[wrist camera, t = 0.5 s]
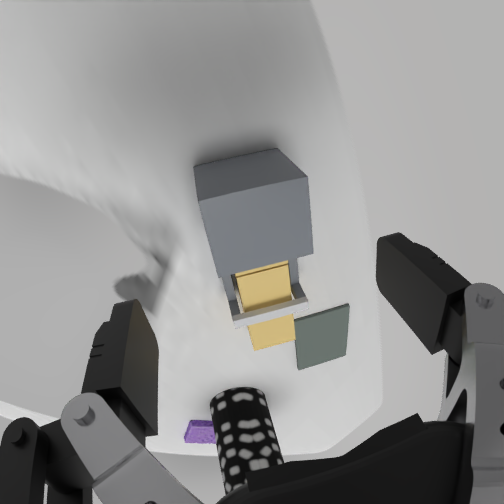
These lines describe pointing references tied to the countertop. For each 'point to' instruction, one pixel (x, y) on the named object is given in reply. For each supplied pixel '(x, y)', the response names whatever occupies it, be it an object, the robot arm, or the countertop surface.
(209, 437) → the sponges
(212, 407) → the white-spotted black cylinder
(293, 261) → the dispenser
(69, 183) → the countertop surface
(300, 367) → the mat
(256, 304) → the wooden block
